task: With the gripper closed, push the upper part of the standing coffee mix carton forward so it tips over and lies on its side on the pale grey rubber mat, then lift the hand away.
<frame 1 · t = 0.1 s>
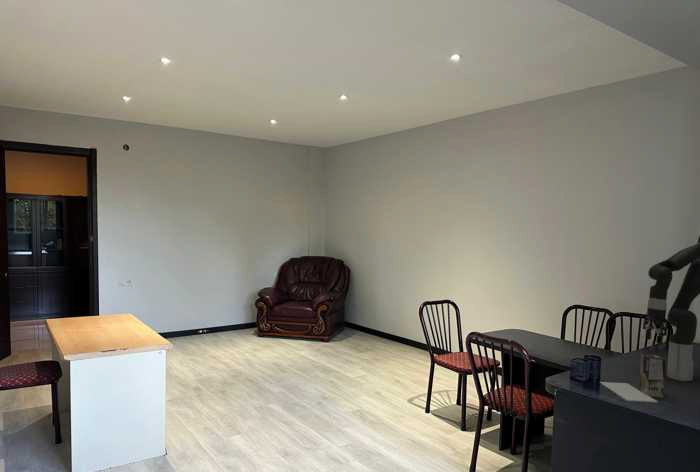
hand: (653, 341, 229), 17 cm above the table, tool pointing down, fingers open, 8 cm apart
coffee box: (650, 394, 206), on the table
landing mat: (627, 392, 206), on the table
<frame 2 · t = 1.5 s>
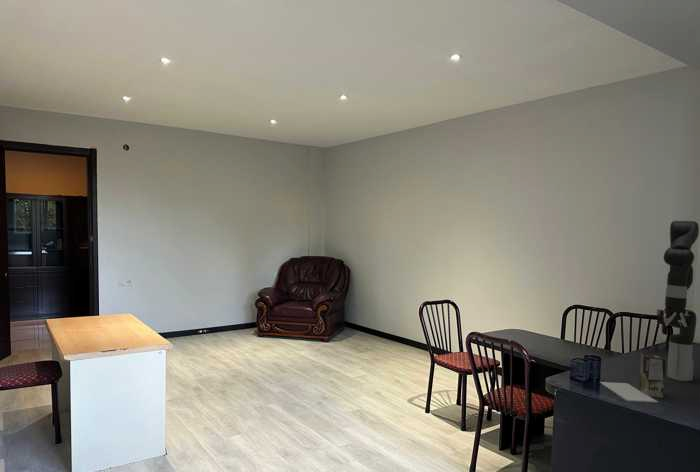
hand: (673, 334, 205), 26 cm above the table, tool pointing down, fingers open, 6 cm apart
nothing on the table moved.
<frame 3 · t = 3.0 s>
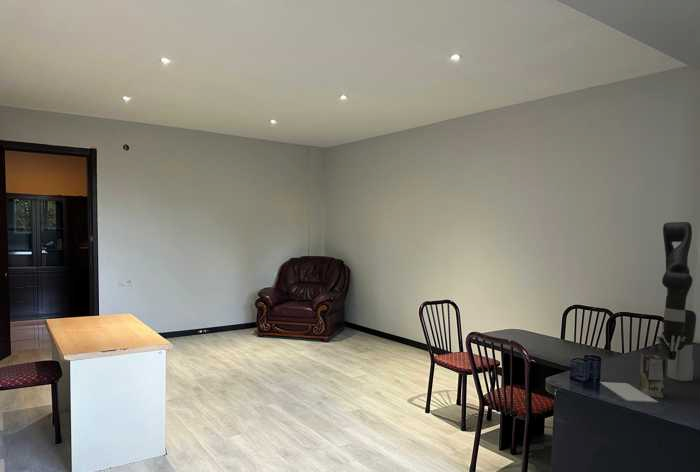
hand: (671, 359, 206), 15 cm above the table, tool pointing down, fingers closed
nothing on the table moved.
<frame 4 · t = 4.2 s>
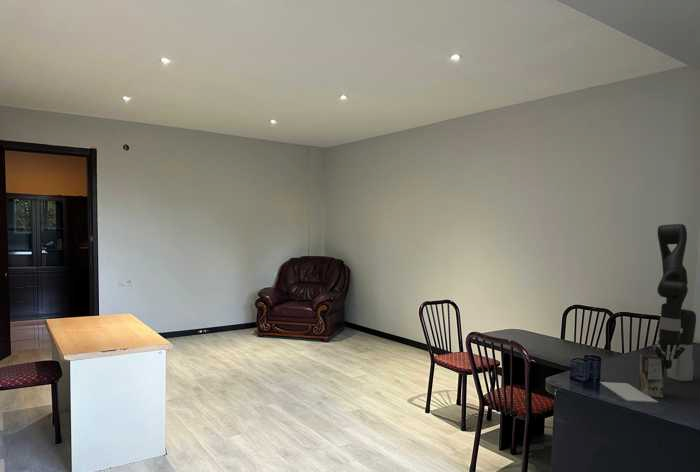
hand: (667, 368, 206), 11 cm above the table, tool pointing down, fingers closed
coffee box: (650, 393, 206), on the table, touching hand
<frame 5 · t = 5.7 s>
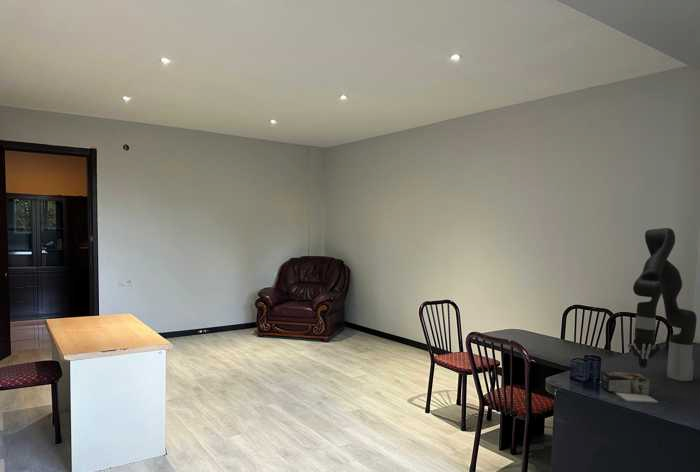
hand: (642, 367, 206), 11 cm above the table, tool pointing down, fingers closed
coffee box: (644, 384, 206), point 4 cm above the table, touching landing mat
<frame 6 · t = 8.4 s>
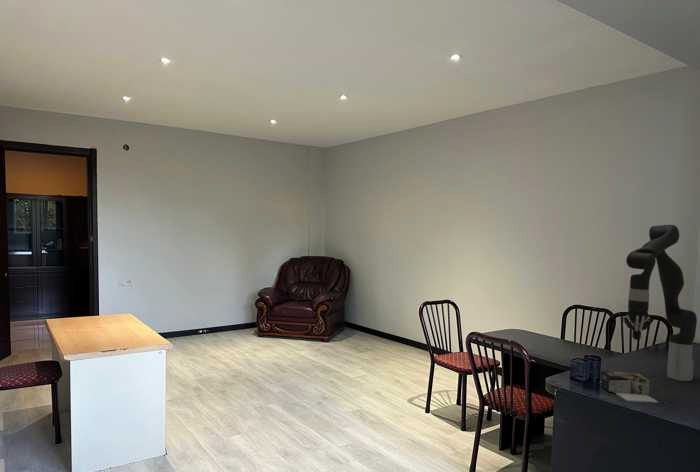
hand: (636, 339, 206), 23 cm above the table, tool pointing down, fingers closed
nothing on the table moved.
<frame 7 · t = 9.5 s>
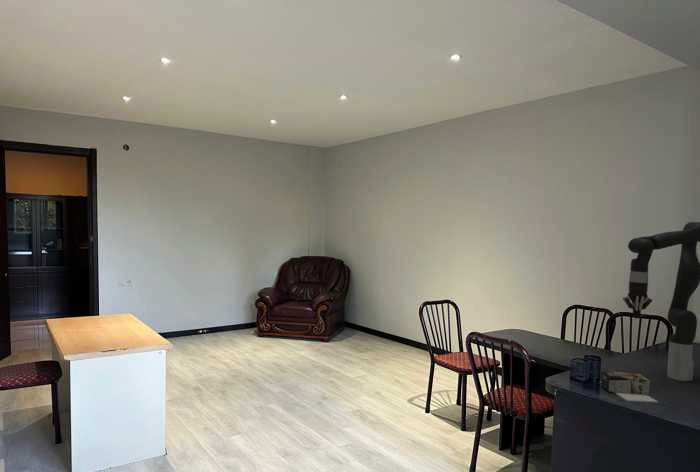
hand: (636, 318, 224), 29 cm above the table, tool pointing down, fingers closed
nothing on the table moved.
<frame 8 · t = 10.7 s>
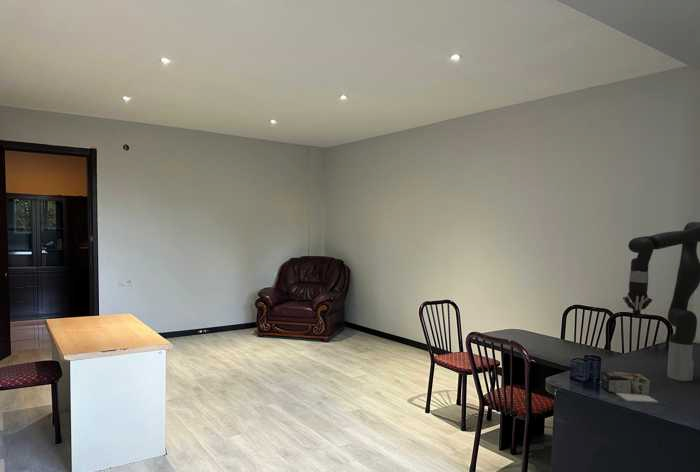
hand: (636, 317, 224), 29 cm above the table, tool pointing down, fingers closed
nothing on the table moved.
at the end: coffee box tilted 90°; coffee box touching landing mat; coffee box inside the target area (3.4 cm from its centre), point 3.7 cm above the table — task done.
